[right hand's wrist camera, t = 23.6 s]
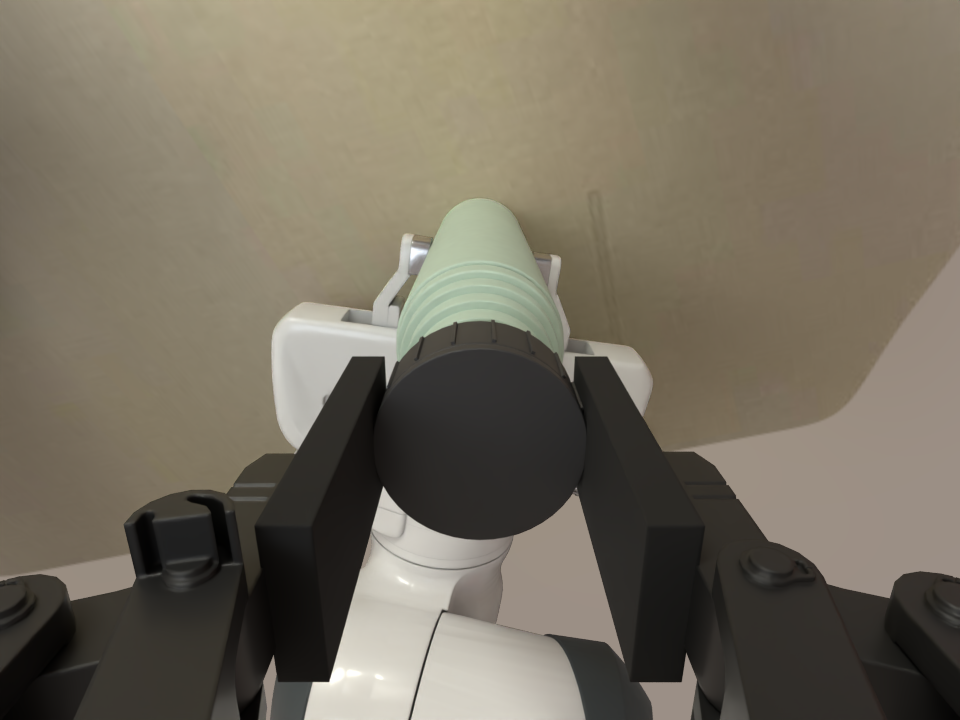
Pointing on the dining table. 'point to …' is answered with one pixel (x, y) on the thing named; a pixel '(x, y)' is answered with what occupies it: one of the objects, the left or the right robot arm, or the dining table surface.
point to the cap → (480, 432)
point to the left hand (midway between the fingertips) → (481, 245)
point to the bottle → (480, 279)
